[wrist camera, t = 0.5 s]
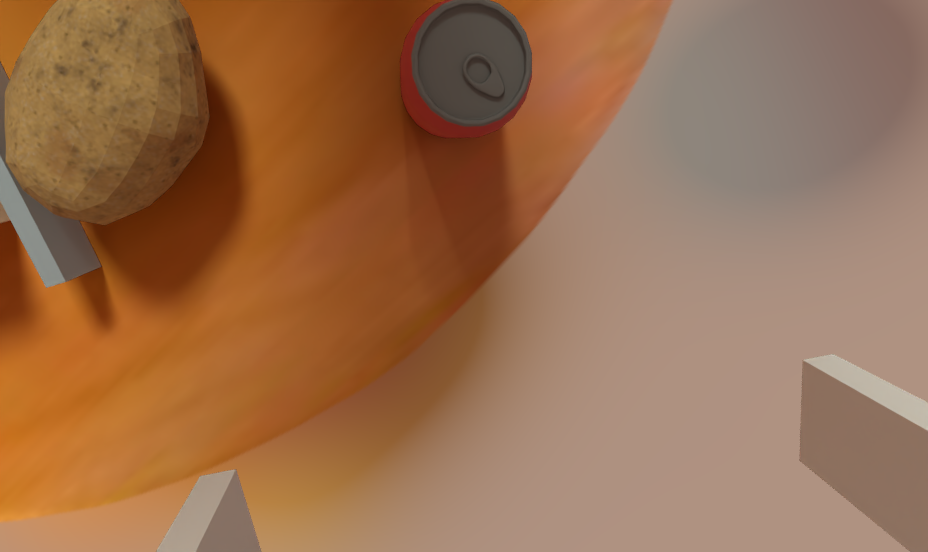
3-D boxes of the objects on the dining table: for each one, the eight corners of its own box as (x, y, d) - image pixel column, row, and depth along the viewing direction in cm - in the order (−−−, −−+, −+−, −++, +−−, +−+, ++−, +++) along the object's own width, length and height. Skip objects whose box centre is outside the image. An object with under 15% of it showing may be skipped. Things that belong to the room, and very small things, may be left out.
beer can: (452, 158, 37) (475, 168, 25) (379, 89, 35) (368, 65, 24) (518, 86, 36) (572, 61, 25) (447, 11, 35) (469, -53, 23)
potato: (266, 39, 34) (226, 9, 26) (186, 236, 36) (127, 262, 29) (108, -45, 32) (14, -103, 24) (34, 170, 34) (-73, 179, 26)
